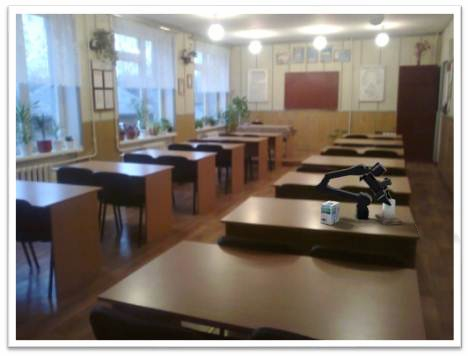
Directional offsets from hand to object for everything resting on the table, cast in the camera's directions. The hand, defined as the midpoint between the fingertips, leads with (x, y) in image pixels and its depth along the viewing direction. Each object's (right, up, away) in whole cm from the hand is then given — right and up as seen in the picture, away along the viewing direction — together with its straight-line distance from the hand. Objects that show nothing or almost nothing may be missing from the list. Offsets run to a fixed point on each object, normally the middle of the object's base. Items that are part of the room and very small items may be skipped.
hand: (391, 203), depth 242 cm
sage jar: (-1, -8, +2) cm, 8 cm away
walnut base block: (-1, -10, +3) cm, 10 cm away
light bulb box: (-34, -10, 0) cm, 36 cm away
